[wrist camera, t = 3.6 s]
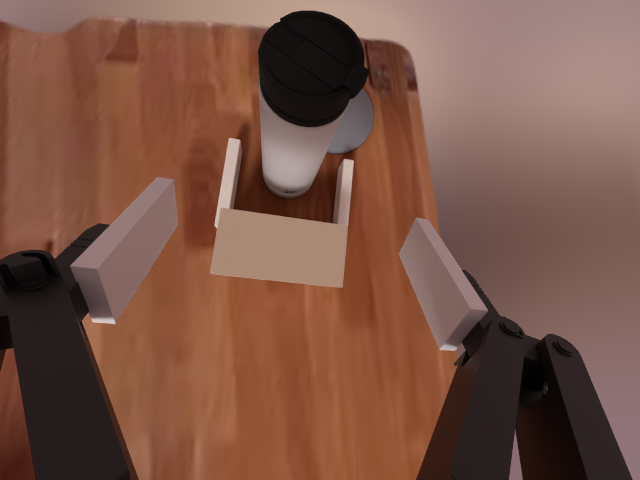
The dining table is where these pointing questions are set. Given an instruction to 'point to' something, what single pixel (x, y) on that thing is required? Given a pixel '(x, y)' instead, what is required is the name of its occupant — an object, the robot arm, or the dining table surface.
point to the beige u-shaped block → (279, 235)
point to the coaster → (353, 125)
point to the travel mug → (304, 95)
